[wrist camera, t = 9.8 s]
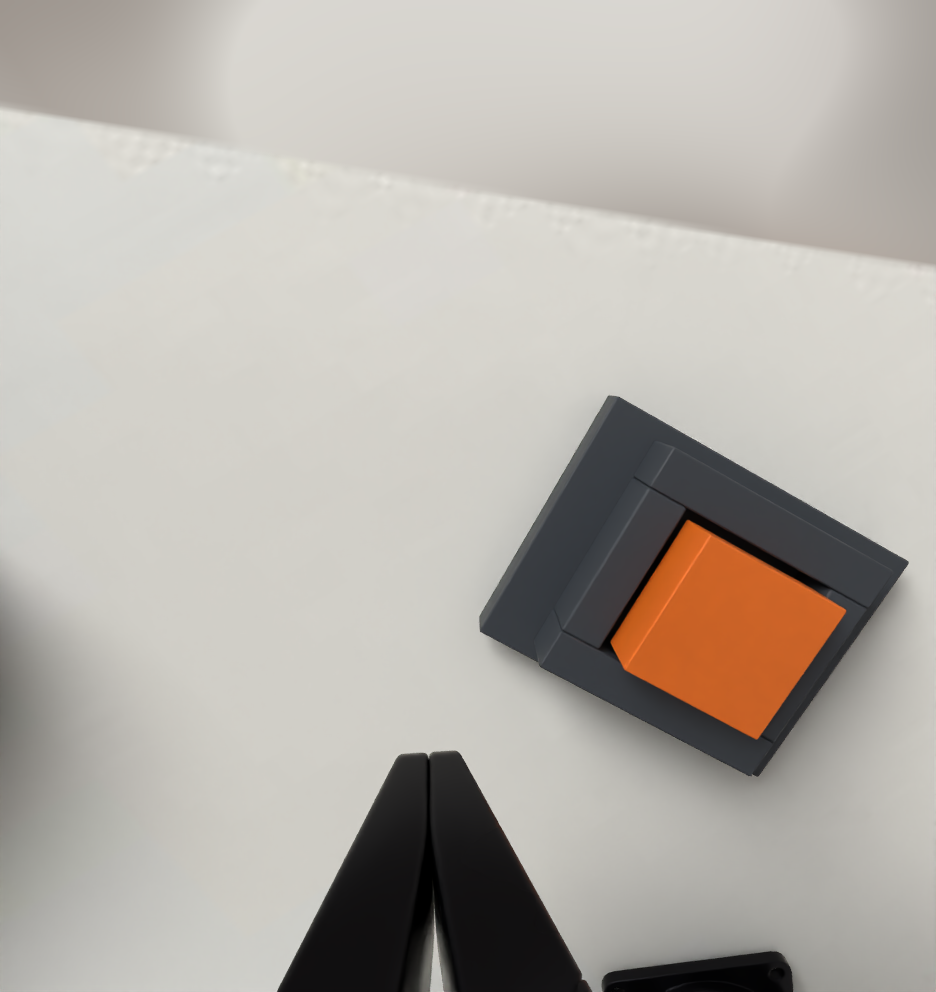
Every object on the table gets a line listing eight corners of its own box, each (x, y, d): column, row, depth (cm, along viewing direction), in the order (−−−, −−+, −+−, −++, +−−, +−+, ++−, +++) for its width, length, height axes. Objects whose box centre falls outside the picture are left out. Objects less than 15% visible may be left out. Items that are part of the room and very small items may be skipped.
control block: (884, 551, 20) (955, 581, 17) (742, 755, 21) (786, 816, 18) (608, 394, 19) (633, 397, 16) (478, 617, 20) (479, 657, 17)
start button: (811, 587, 17) (848, 611, 16) (730, 706, 18) (757, 741, 16) (686, 518, 17) (710, 534, 15) (608, 641, 18) (623, 670, 16)
